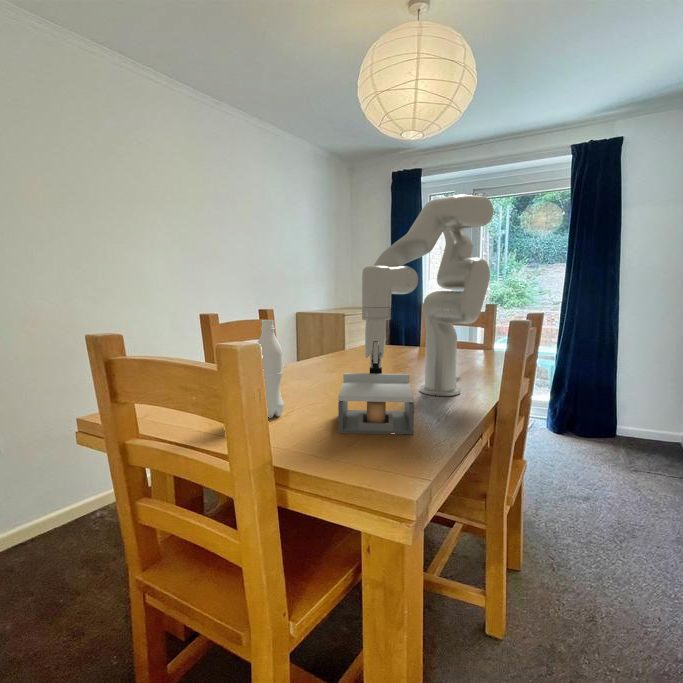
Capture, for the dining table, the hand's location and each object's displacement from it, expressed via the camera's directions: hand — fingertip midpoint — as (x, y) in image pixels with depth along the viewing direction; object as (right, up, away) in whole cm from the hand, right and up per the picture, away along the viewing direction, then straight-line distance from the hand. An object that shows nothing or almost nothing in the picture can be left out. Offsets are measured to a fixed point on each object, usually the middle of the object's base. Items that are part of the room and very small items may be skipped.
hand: (375, 382), depth 110 cm
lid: (-1, -2, -10) cm, 10 cm away
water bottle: (-28, -9, -2) cm, 29 cm away
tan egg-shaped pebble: (-1, -9, -12) cm, 15 cm away
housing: (-1, -9, -9) cm, 13 cm away
